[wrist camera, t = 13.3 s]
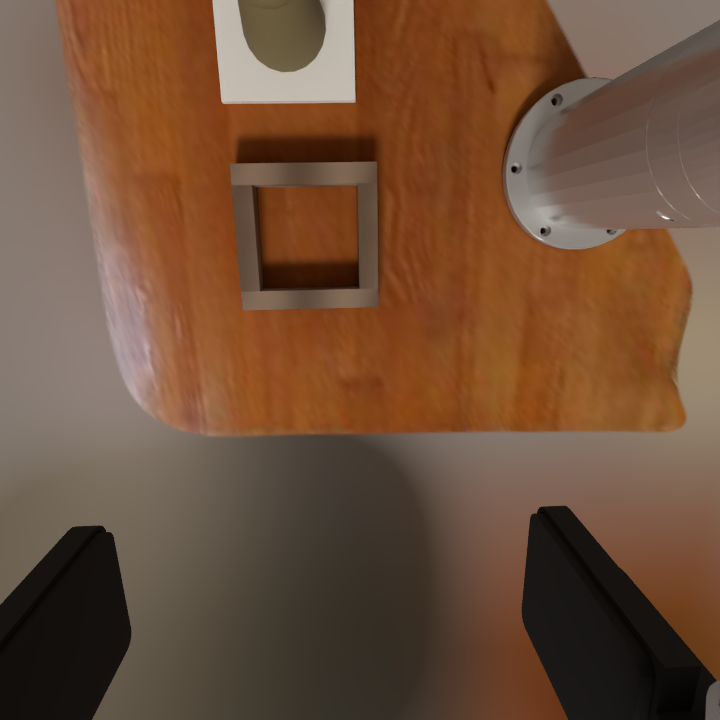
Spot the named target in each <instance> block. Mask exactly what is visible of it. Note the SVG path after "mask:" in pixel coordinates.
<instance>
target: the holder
mask: <svg viewBox="0 0 720 720" xmlns="http://www.w3.org/2000/svg"><path fill="white" fill-rule="evenodd" d="M230 172H231V183H232V195H233V206H234V217H235V229H236V240H237V251H238V263H239V274H240V285H241V297H242V308H243V310H277V309H316V308H355V307H378V203H377V162H315V163H241V164H230ZM321 186H357V227H358V279H359V286H347V287H305V288H264V283H263V269H262V256H261V243H260V229H259V216H258V202H257V189H256V187H321Z"/></svg>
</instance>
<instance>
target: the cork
mask: <svg viewBox="0 0 720 720" xmlns="http://www.w3.org/2000/svg"><path fill="white" fill-rule="evenodd" d="M238 6H239V11H240V17H241V23H242V29H243V35H244V37H245V40H246V42H247V45H248V47H249V49H250V51H251V52H252V53H253V54H254V56H255V57H256V58H257V60H258V61H260V62H261V63H262V64H264V65H265V66H267V67H268V68H270V69H273V70H276V71H279V72H295V71H297V70H300V69H302V68H304V67H307V66H308V65H309V64H310V63H311V62H312V61H313V60H314V59H315V58H316V57H317V55H318V53H319V52H320V50H321V48H322V46H323V42H324V38H325V33H326V23H325V14H324V11H323V9H322V6H321V3H320V0H238Z"/></svg>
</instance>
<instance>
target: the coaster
mask: <svg viewBox="0 0 720 720" xmlns="http://www.w3.org/2000/svg"><path fill="white" fill-rule="evenodd" d="M320 3H321V6H322V9H323V11H324V14H325V23H326V33H325V38H324V42H323V46H322V48H321V50H320V52H319V53H318V55H317V57H316V58H315V59H314V60H313V61H312V62H311V63H310V64H309V65H308V66H307V67H304V68H302V69H300V70H297V71H295V72H279V71H276V70H273V69H270V68H268V67H267V66H265V65H264V64H262V63H261V62H260V61H258V60H257V58H256V57H255V56H254V54H253V53H252V52H251V51H250V49H249V47H248V45H247V42H246V40H245V37H244V35H243V29H242V23H241V17H240V11H239V6H238V0H213V11H214V22H215V33H216V44H217V56H218V67H219V78H220V89H221V100H222V103H223V104H261V103H355V56H354V3H353V0H320Z"/></svg>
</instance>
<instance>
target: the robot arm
mask: <svg viewBox="0 0 720 720" xmlns="http://www.w3.org/2000/svg"><path fill="white" fill-rule="evenodd" d="M551 100H553V101H554V103H555V104H554V106H553V104H552V102H551ZM512 166H513V167H514V168H515V172H514V173H512V171H511V167H512ZM502 176H503V189H504V193H505V197H506V201H507V205H508V207H509V209H510V211H511V213H512V215H513V217H514V219H515V220H516V221H517V223H518V224H519V225H520V227H521V228H522V229H523V230H524V231H525V232H526V233H528V234H529V235H530V236H531V237H532V238H534V239H536V240H538V241H539V242H541V243H543V244H545V245H548V246H552V247H555V248H561V249H586V248H591V247H595V246H599V245H601V244H604V243H606V242H608V241H611V240H612V239H614V238H616V237H617V236H619V235H620V234H622V233H623V232H625V231H626V230H627V229H659V228H708V227H720V20H718V21H717V22H715V23H713V24H712V25H710V26H708V27H706V28H704V29H703V30H701V31H699V32H697V33H696V34H694V35H692V36H690V37H688V38H687V39H685V40H683V41H681V42H680V43H678V44H676V45H674V46H673V47H671V48H669V49H667V50H666V51H664V52H662V53H660V54H659V55H657V56H655V57H653V58H651V59H650V60H648V61H646V62H644V63H643V64H641V65H639V66H637V67H636V68H634V69H632V70H630V71H629V72H627V73H625V74H623V75H621V76H620V77H618V78H616V79H614V80H611V79H606V78H596V77H593V78H584V79H578V80H575V81H572V82H569V83H566V84H563V85H561V86H559V87H558V88H556V89H554V90H552V91H550V92H549V93H547V94H546V95H545V96H543V97H542V98H540V99H539V100H538V101H537V102H536V103H535V104H534V105H533V106H532V107H531V108H530V109H529V110H528V111H527V112H526V113H525V114H524V116H523V117H522V118H521V120H520V121H519V123H518V124H517V126H516V127H515V129H514V131H513V134H512V136H511V138H510V140H509V142H508V146H507V149H506V153H505V156H504V163H503V173H502ZM541 228H543V230H544V231H543V233H542V234H541V233H540V230H541ZM607 230H608V231H607ZM522 618H523V623H524V626H525V629H526V631H527V633H528V635H529V637H530V639H531V641H532V643H533V646H534V648H535V650H536V652H537V654H538V656H539V658H540V660H541V663H542V665H543V667H544V669H545V671H546V673H547V675H548V677H549V680H550V682H551V683H552V686H553V688H554V690H555V692H556V694H557V696H558V699H559V701H560V702H561V705H562V707H563V709H564V711H565V713H566V715H567V718H568V720H720V680H718V681H717V680H716V679H715V678H714V677H713V676H712V674H711V673H710V672H709V671H708V670H707V669H706V667H705V666H704V665H703V664H702V663H701V661H700V660H699V659H698V658H697V657H696V656H695V654H694V653H693V652H692V651H691V650H690V648H689V647H688V646H687V645H686V644H685V643H684V641H683V640H682V639H681V638H680V637H679V636H678V634H677V633H676V632H675V631H674V630H673V628H672V627H671V626H670V625H669V624H668V623H667V621H666V620H665V619H664V618H663V617H662V616H661V614H660V613H659V612H658V611H657V610H656V609H655V607H654V606H653V605H652V604H651V603H650V601H649V600H648V599H647V598H646V597H645V595H644V594H643V593H642V592H641V591H640V590H639V588H638V587H637V586H636V585H635V584H634V582H633V581H632V580H631V579H630V578H629V576H628V575H627V574H626V573H625V572H624V571H623V570H622V569H621V568H619V567H618V566H617V565H616V563H615V562H614V561H613V560H612V559H611V557H610V556H609V555H608V554H607V553H606V551H605V550H604V549H603V548H602V547H601V546H600V544H599V543H598V542H597V541H596V540H595V539H594V537H593V536H592V535H591V534H590V533H589V531H588V530H587V529H586V528H585V527H584V525H583V524H582V523H581V522H580V521H579V520H578V518H577V517H576V516H575V515H574V514H573V512H572V511H571V510H570V509H569V508H568V507H567V506H548V507H540V508H539V509H538V511H537V514H532V515H531V518H530V526H529V536H528V547H527V558H526V568H525V579H524V591H523V601H522ZM130 640H131V626H130V620H129V616H128V610H127V605H126V600H125V594H124V589H123V584H122V578H121V573H120V568H119V563H118V557H117V552H116V547H115V542H114V537H113V535H112V533H110V532H106V530H105V528H104V527H103V526H79V527H72V528H71V529H70V530H69V531H68V532H67V533H66V534H65V535H64V536H63V537H62V538H61V539H60V540H59V541H58V543H57V544H56V545H55V546H54V547H53V548H52V549H51V550H50V551H49V552H48V554H47V555H46V556H45V557H44V558H43V559H42V560H41V561H40V562H39V563H38V564H37V565H36V567H35V568H34V569H33V570H32V571H31V572H30V573H29V574H28V575H27V576H26V577H25V579H24V580H23V581H22V582H21V583H20V584H19V585H18V586H17V587H16V588H15V590H14V591H13V592H12V593H11V594H10V595H9V596H8V597H7V598H6V599H5V600H4V602H3V603H2V604H1V605H0V720H92V718H93V716H94V714H95V713H96V711H97V709H98V707H99V705H100V703H101V701H102V699H103V697H104V695H105V693H106V691H107V689H108V687H109V685H110V683H111V681H112V679H113V677H114V675H115V673H116V671H117V669H118V667H119V665H120V663H121V662H122V660H123V657H124V656H125V654H126V652H127V650H128V647H129V644H130Z"/></svg>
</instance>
